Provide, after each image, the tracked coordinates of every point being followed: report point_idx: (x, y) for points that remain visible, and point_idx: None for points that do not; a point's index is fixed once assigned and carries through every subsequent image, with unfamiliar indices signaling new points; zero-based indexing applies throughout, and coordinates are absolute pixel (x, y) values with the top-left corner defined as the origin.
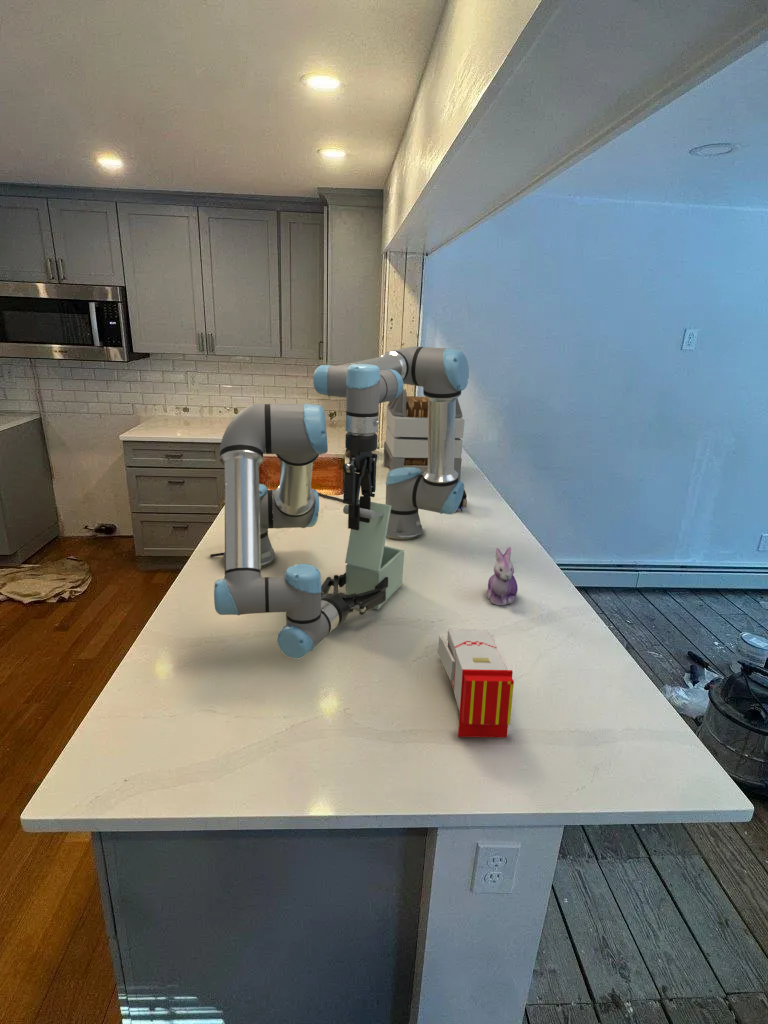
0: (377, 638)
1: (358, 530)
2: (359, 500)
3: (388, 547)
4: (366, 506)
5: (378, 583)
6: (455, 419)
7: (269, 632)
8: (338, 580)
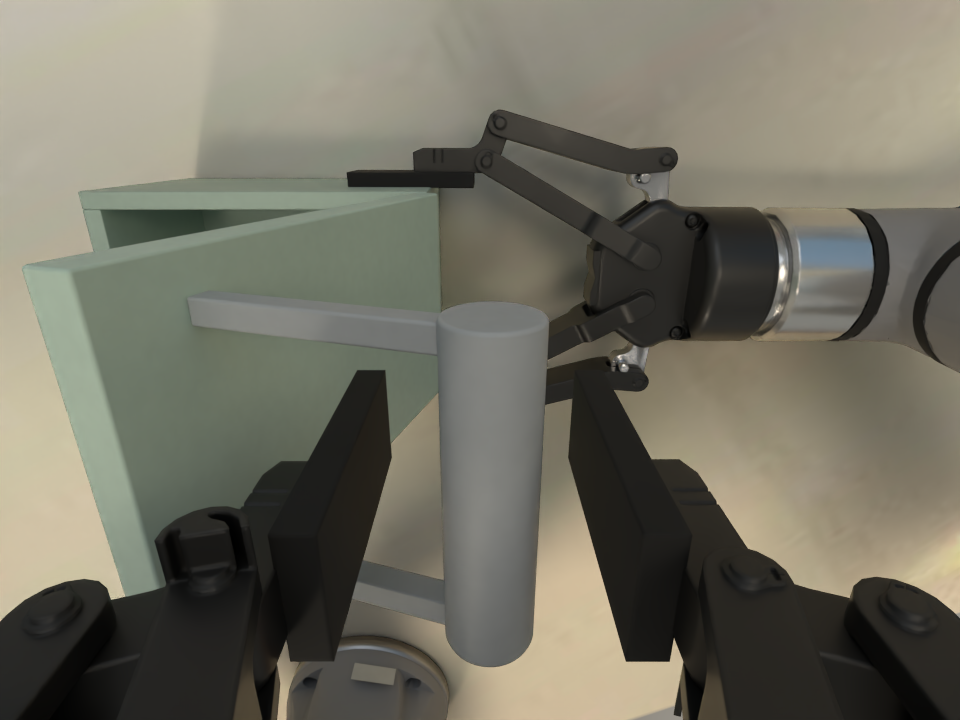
0: (637, 77)
1: None
2: None
3: None
4: (350, 489)
5: (430, 189)
6: None
7: (737, 424)
8: None
